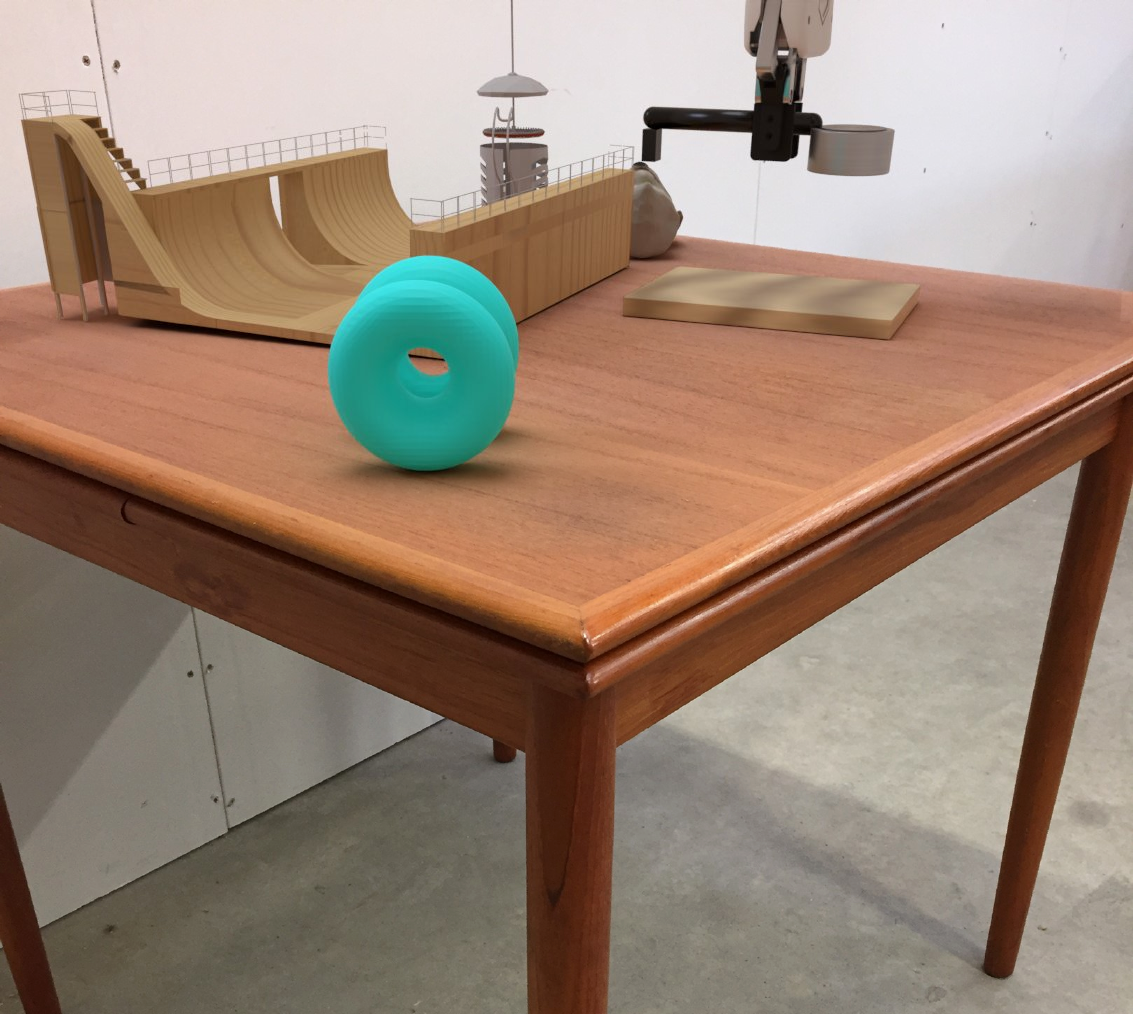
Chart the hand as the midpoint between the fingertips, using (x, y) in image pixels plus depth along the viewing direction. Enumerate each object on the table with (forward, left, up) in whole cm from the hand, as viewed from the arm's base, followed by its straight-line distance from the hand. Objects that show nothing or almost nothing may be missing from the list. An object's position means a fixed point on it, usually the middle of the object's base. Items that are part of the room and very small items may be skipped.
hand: (773, 157), depth 98 cm
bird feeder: (+49, -15, -12) cm, 53 cm away
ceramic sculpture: (+27, -13, -12) cm, 32 cm away
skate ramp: (+28, +20, -12) cm, 37 cm away
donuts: (-12, +44, -12) cm, 47 cm away
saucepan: (+1, 0, -1) cm, 1 cm away
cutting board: (-1, -1, -12) cm, 12 cm away
